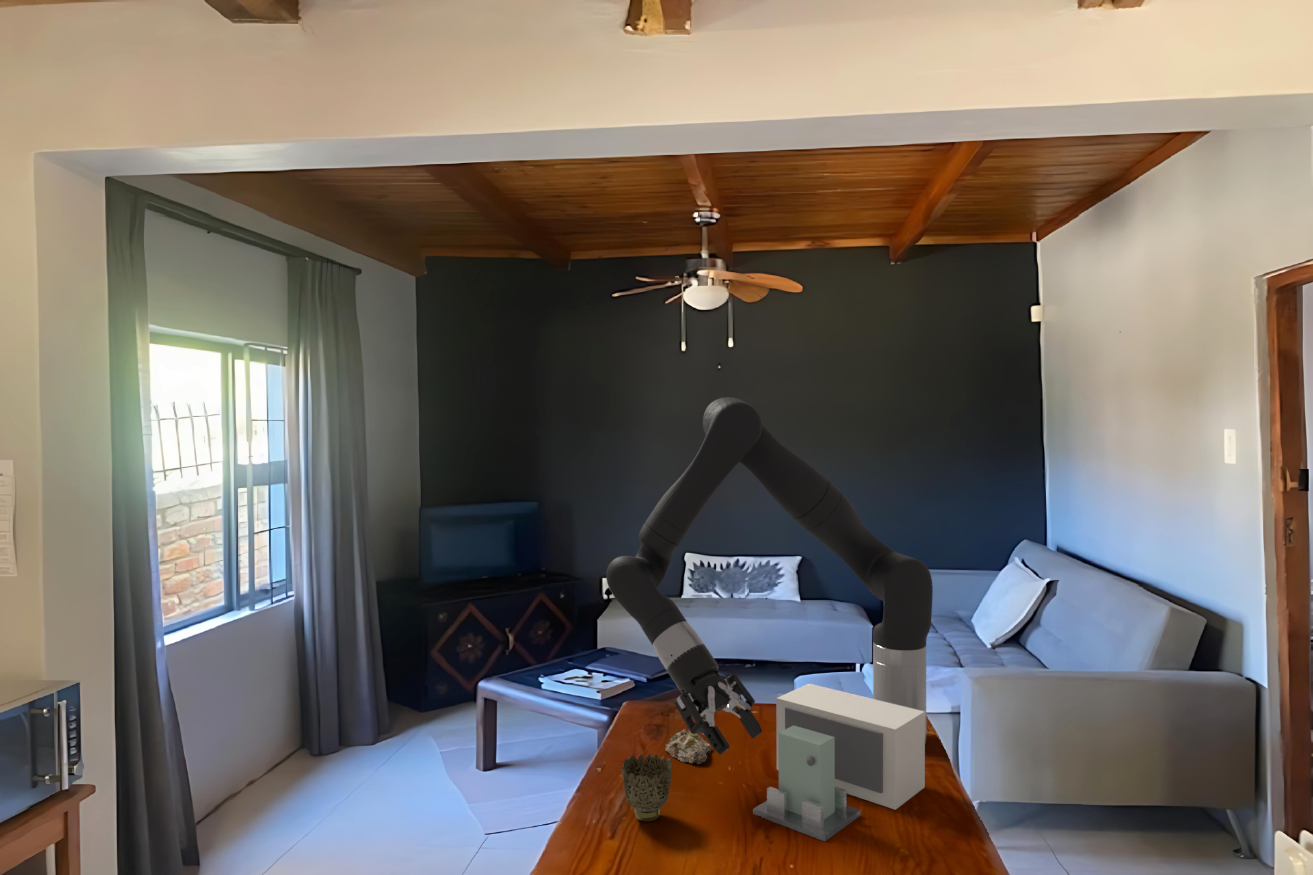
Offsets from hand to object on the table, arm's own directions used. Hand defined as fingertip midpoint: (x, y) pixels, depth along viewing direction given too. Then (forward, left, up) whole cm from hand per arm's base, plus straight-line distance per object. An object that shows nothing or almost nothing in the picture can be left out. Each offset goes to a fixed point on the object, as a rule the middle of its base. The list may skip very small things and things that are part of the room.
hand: (741, 743), depth 130 cm
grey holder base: (0, +12, -7) cm, 14 cm away
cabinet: (-15, +10, -7) cm, 20 cm away
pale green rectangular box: (0, +12, -7) cm, 14 cm away
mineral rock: (-6, -16, -8) cm, 18 cm away
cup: (+16, -5, -8) cm, 19 cm away
